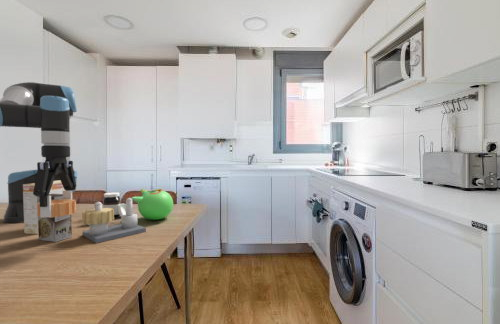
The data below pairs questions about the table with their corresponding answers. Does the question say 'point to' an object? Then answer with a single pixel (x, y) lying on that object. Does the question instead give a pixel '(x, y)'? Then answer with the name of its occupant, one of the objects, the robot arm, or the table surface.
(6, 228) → the table surface
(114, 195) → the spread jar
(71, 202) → the orange gear
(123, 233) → the gear board
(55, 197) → the coffee box
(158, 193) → the green teapot
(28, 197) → the coffeecake box
